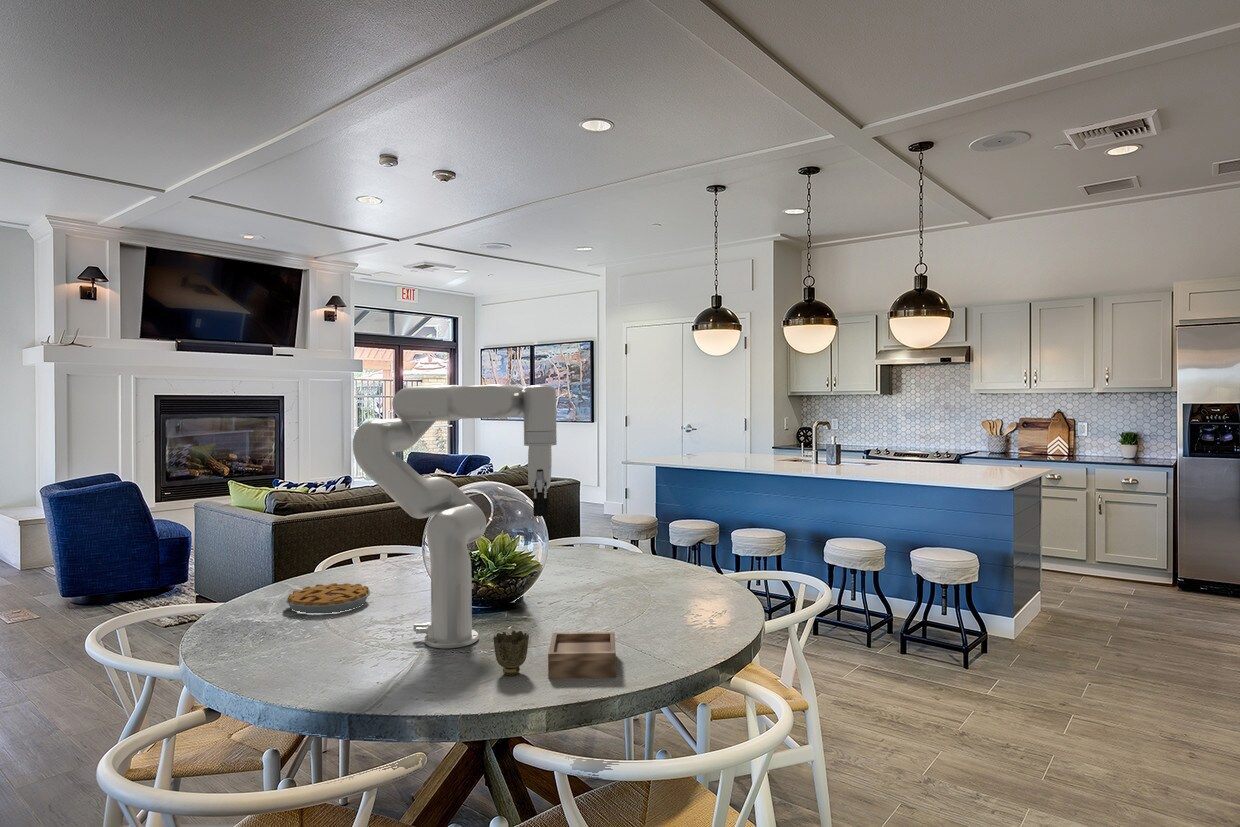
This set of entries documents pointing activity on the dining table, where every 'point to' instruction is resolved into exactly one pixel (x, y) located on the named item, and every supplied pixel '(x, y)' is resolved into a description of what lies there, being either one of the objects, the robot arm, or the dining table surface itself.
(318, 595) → the pie
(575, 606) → the dining table surface
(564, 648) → the shallow wooden tray
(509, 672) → the cup
